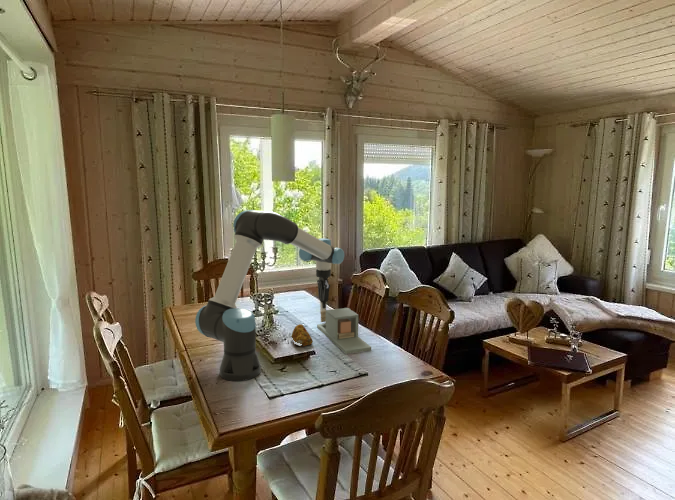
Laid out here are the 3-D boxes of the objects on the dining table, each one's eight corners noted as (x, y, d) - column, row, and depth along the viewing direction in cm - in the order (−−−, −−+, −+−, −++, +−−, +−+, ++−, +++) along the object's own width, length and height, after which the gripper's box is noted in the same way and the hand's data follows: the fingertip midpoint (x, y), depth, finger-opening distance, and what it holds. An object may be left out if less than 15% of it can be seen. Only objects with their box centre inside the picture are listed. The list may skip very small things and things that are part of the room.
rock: (311, 350, 193) (316, 340, 186) (294, 356, 189) (299, 346, 182) (301, 329, 198) (305, 318, 191) (284, 334, 194) (288, 324, 187)
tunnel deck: (371, 350, 183) (371, 323, 181) (345, 354, 178) (346, 326, 176) (339, 324, 216) (339, 301, 214) (317, 327, 211) (317, 304, 209)
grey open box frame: (354, 336, 193) (354, 325, 193) (338, 339, 191) (338, 327, 190) (333, 320, 217) (333, 310, 217) (319, 321, 215) (319, 311, 214)
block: (350, 334, 194) (351, 321, 193) (340, 335, 192) (340, 322, 191) (345, 329, 199) (345, 317, 198) (335, 331, 197) (335, 318, 196)
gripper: (335, 270, 212) (334, 316, 215) (325, 266, 223) (325, 309, 227) (321, 271, 209) (320, 318, 212) (312, 267, 221) (312, 310, 224)
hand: (323, 313), depth 220 cm, fingers closed
